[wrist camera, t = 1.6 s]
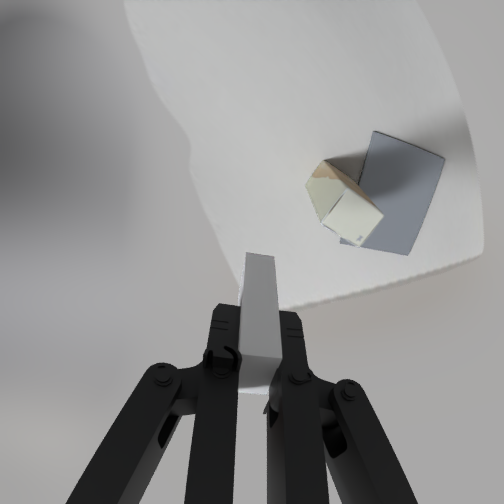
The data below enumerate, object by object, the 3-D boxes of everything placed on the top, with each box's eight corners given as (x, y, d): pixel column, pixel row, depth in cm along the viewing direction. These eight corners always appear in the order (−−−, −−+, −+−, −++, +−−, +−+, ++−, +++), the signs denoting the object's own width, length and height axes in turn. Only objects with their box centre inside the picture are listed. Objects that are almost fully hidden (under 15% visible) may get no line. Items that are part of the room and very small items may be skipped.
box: (353, 180, 33) (388, 217, 24) (334, 206, 35) (360, 251, 26) (321, 157, 32) (347, 187, 22) (302, 185, 34) (319, 225, 24)
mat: (373, 131, 30) (374, 131, 29) (443, 158, 30) (444, 159, 30) (339, 242, 38) (340, 243, 38) (406, 254, 39) (407, 255, 38)
